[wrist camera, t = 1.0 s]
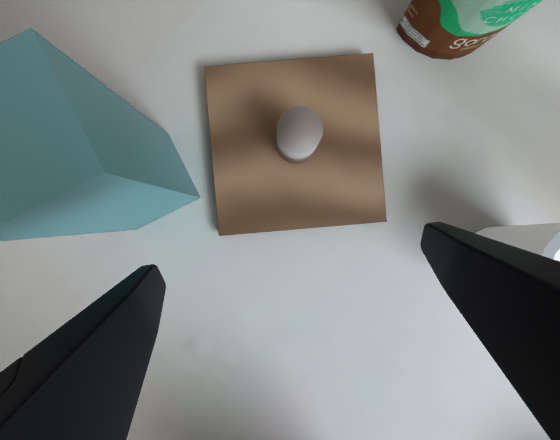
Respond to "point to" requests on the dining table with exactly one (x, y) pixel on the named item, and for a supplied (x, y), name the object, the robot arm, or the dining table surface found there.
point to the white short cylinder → (528, 238)
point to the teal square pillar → (77, 150)
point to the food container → (457, 24)
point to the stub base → (256, 155)
